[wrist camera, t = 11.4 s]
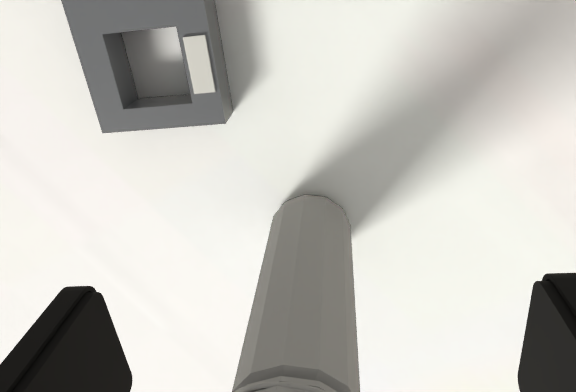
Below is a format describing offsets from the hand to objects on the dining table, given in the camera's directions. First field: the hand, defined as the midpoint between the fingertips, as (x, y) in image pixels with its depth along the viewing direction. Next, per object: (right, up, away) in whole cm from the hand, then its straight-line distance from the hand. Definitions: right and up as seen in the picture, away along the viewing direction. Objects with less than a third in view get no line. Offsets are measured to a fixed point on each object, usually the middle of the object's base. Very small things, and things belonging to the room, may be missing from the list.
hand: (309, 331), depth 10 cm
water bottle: (+1, 0, +32) cm, 32 cm away
